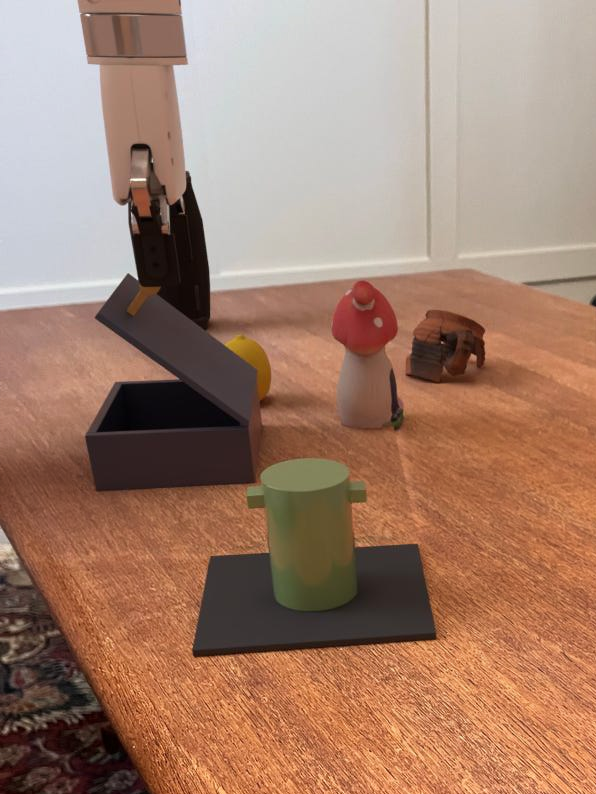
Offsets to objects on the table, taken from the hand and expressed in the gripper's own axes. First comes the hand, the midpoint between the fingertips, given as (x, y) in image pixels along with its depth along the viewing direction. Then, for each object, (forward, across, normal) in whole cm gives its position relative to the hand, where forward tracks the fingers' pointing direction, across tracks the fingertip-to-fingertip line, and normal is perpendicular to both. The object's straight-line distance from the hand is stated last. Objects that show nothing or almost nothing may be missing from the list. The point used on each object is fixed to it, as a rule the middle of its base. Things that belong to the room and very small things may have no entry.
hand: (167, 273), depth 87 cm
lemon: (+17, -16, +4) cm, 24 cm away
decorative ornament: (+17, -8, +17) cm, 26 cm away
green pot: (+17, +28, +11) cm, 35 cm away
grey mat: (+17, +28, +11) cm, 35 cm away
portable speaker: (+17, -52, -7) cm, 56 cm away
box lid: (+7, 0, 0) cm, 7 cm away
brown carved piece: (+17, -26, +27) cm, 41 cm away
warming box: (+17, 0, -1) cm, 17 cm away
